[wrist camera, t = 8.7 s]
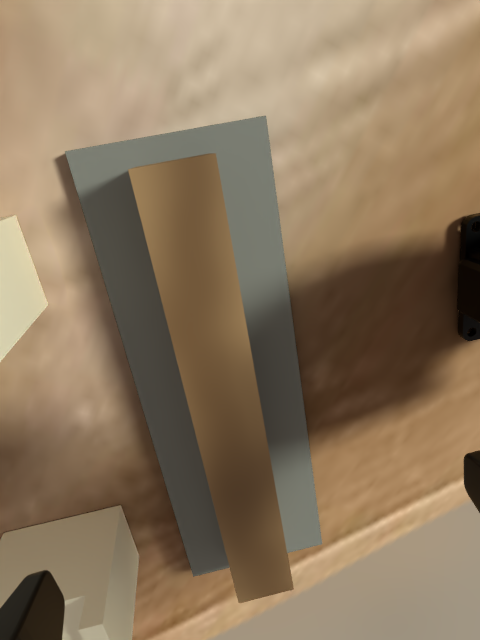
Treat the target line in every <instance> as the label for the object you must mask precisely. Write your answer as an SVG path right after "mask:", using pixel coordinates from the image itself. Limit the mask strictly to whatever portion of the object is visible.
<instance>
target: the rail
mask: <svg viewBox="0 0 480 640" xmlns="http://www.w3.org/2000/svg"><path fill="white" fill-rule="evenodd" d="M128 171H129V175H130V179H131V183H132V187H133V191H134V195H135V199H136V203H137V207H138V210H139V214H140V218H141V222H142V226H143V230H144V234H145V238H146V242H147V246H148V250H149V254H150V257H151V261H152V265H153V269H154V273H155V277H156V281H157V285H158V289H159V293H160V297H161V301H162V304H163V308H164V312H165V316H166V320H167V324H168V328H169V332H170V336H171V340H172V344H173V347H174V351H175V355H176V359H177V363H178V367H179V371H180V375H181V379H182V383H183V387H184V391H185V394H186V398H187V402H188V406H189V410H190V414H191V418H192V422H193V426H194V430H195V434H196V438H197V441H198V445H199V449H200V453H201V457H202V461H203V465H204V469H205V473H206V477H207V481H208V484H209V488H210V492H211V496H212V500H213V504H214V508H215V512H216V516H217V520H218V524H219V528H220V531H221V535H222V539H223V543H224V547H225V551H226V555H227V559H228V563H229V567H230V571H231V575H232V578H233V582H234V586H235V590H236V594H237V598H238V602H239V603H243V602H246V601H250V600H254V599H258V598H262V597H266V596H269V595H273V594H277V593H281V592H285V591H289V590H293V589H294V588H293V582H292V577H291V571H290V566H289V560H288V554H287V549H286V543H285V538H284V532H283V526H282V521H281V515H280V510H279V504H278V498H277V493H276V487H275V482H274V476H273V470H272V465H271V459H270V454H269V448H268V442H267V437H266V431H265V426H264V420H263V414H262V409H261V403H260V398H259V392H258V387H257V381H256V375H255V370H254V364H253V359H252V353H251V347H250V342H249V336H248V331H247V325H246V319H245V314H244V308H243V303H242V297H241V291H240V286H239V280H238V275H237V269H236V263H235V258H234V252H233V247H232V241H231V235H230V230H229V224H228V219H227V213H226V208H225V202H224V196H223V191H222V185H221V180H220V174H219V168H218V163H217V157H216V153H209V154H203V155H198V156H193V157H187V158H182V159H176V160H171V161H165V162H160V163H155V164H149V165H144V166H138V167H134V168H131V169H128Z"/></svg>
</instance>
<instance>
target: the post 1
mask: <svg viewBox="0 0 480 640" xmlns="http://www.w3.org/2000/svg"><path fill="white" fill-rule="evenodd" d="M47 306H48V303H47V300H46V297H45V295H44V292H43V289H42V286H41V283H40V281H39V278H38V275H37V272H36V270H35V267H34V264H33V261H32V259H31V256H30V253H29V250H28V248H27V245H26V242H25V239H24V237H23V234H22V231H21V228H20V226H19V223H18V220H17V217H16V215H14V216H9V217H3V218H0V362H1V360H2V359H3V358H4V357H5V356H6V354H7V353H8V352H9V351H10V350H11V348H12V347H13V346H14V345H15V344H16V342H17V341H18V340H19V339H20V338H21V337H22V335H23V334H24V333H25V332H26V331H27V329H28V328H29V327H30V326H31V325H32V323H33V322H34V321H35V320H36V319H37V318H38V316H39V315H40V314H41V313H42V312H43V310H44V309H45V308H46V307H47Z"/></svg>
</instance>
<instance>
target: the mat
mask: <svg viewBox="0 0 480 640" xmlns="http://www.w3.org/2000/svg"><path fill="white" fill-rule="evenodd" d="M209 153H216V157H217V163H218V168H219V174H220V180H221V185H222V191H223V196H224V202H225V208H226V213H227V219H228V224H229V230H230V235H231V241H232V247H233V252H234V258H235V263H236V269H237V275H238V280H239V286H240V291H241V297H242V303H243V308H244V314H245V319H246V325H247V331H248V336H249V342H250V347H251V353H252V359H253V364H254V370H255V375H256V381H257V387H258V392H259V398H260V403H261V409H262V414H263V420H264V426H265V431H266V437H267V442H268V448H269V454H270V459H271V465H272V470H273V476H274V482H275V487H276V493H277V498H278V504H279V510H280V515H281V521H282V526H283V532H284V538H285V543H286V549H287V553H289V552H293V551H297V550H301V549H305V548H309V547H313V546H317V545H321V544H322V539H321V532H320V524H319V516H318V509H317V501H316V493H315V486H314V478H313V471H312V463H311V455H310V448H309V440H308V432H307V425H306V417H305V410H304V402H303V394H302V387H301V379H300V371H299V364H298V356H297V349H296V341H295V333H294V326H293V318H292V310H291V303H290V295H289V287H288V280H287V272H286V265H285V257H284V249H283V242H282V234H281V226H280V219H279V211H278V204H277V196H276V188H275V181H274V173H273V165H272V158H271V150H270V143H269V135H268V127H267V120H266V116H261V117H256V118H250V119H245V120H239V121H233V122H228V123H222V124H217V125H211V126H205V127H200V128H194V129H189V130H183V131H177V132H172V133H166V134H160V135H155V136H149V137H144V138H138V139H132V140H127V141H121V142H116V143H110V144H104V145H99V146H93V147H88V148H82V149H76V150H71V151H65V154H66V157H67V160H68V163H69V167H70V170H71V173H72V177H73V180H74V183H75V187H76V190H77V193H78V197H79V200H80V203H81V206H82V210H83V213H84V216H85V220H86V223H87V226H88V230H89V233H90V236H91V240H92V243H93V246H94V249H95V253H96V256H97V259H98V263H99V266H100V269H101V273H102V276H103V279H104V283H105V286H106V289H107V292H108V296H109V299H110V302H111V306H112V309H113V312H114V316H115V319H116V322H117V325H118V329H119V332H120V335H121V339H122V342H123V345H124V349H125V352H126V355H127V359H128V362H129V365H130V368H131V372H132V375H133V378H134V382H135V385H136V388H137V392H138V395H139V398H140V402H141V405H142V408H143V411H144V415H145V418H146V421H147V425H148V428H149V431H150V435H151V438H152V441H153V445H154V448H155V451H156V454H157V458H158V461H159V464H160V468H161V471H162V474H163V478H164V481H165V484H166V488H167V491H168V494H169V497H170V501H171V504H172V507H173V511H174V514H175V517H176V521H177V524H178V527H179V531H180V534H181V537H182V540H183V544H184V547H185V550H186V554H187V557H188V560H189V564H190V567H191V570H192V574H193V577H194V576H198V575H202V574H206V573H210V572H214V571H217V570H221V569H225V568H229V563H228V559H227V555H226V551H225V547H224V543H223V539H222V535H221V531H220V528H219V524H218V520H217V516H216V512H215V508H214V504H213V500H212V496H211V492H210V488H209V484H208V481H207V477H206V473H205V469H204V465H203V461H202V457H201V453H200V449H199V445H198V441H197V438H196V434H195V430H194V426H193V422H192V418H191V414H190V410H189V406H188V402H187V398H186V394H185V391H184V387H183V383H182V379H181V375H180V371H179V367H178V363H177V359H176V355H175V351H174V347H173V344H172V340H171V336H170V332H169V328H168V324H167V320H166V316H165V312H164V308H163V304H162V301H161V297H160V293H159V289H158V285H157V281H156V277H155V273H154V269H153V265H152V261H151V257H150V254H149V250H148V246H147V242H146V238H145V234H144V230H143V226H142V222H141V218H140V214H139V210H138V207H137V203H136V199H135V195H134V191H133V187H132V183H131V179H130V175H129V171H128V169H131V168H134V167H138V166H144V165H149V164H155V163H160V162H165V161H171V160H176V159H182V158H187V157H193V156H198V155H203V154H209Z"/></svg>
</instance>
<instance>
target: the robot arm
mask: <svg viewBox="0 0 480 640" xmlns="http://www.w3.org/2000/svg"><path fill="white" fill-rule="evenodd" d="M474 222H476V226H475V228H474V229H473V230H472V229H471V227H472V224H473V223H474ZM457 308H458V310H459V317H458V333H459V335H460V337H462V338H463V339H465V340H467V341H473V340H477V339H480V213H478V214H473V215H470V216H468V217H466V218H465V219H464V221H463V222H462V226H461V249H460V263H459V269H458V305H457ZM470 328H472V329H471V331H470V332H469V333H467V332H468V330H469V329H470ZM464 485H465V489H466V491H467V493H468V495H469V497H470V498H471V500H472V501H473V503H474V505H475V506H476V508H477V509H478V511H479V513H480V450H479V451H475V452H472V453H468V454H466V455H465V457H464ZM64 612H65V601H64V596H63V594H62V592H61V590H60V588H59V586H58V585H57V583H56V581H55V579H54V577H53V575H52V574H51V572H50V571H48V570H43V571H39V572H36V573H32V574H29V575H27V576H26V577H25V578H24V579H23V580H22V581H21V583H20V584H19V585H18V586H17V588H16V589H15V590H14V591H13V593H12V594H11V595H10V597H9V598H8V599H7V600H6V602H5V603H4V604H3V605H2V607H1V608H0V640H62V635H63V624H64Z"/></svg>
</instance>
